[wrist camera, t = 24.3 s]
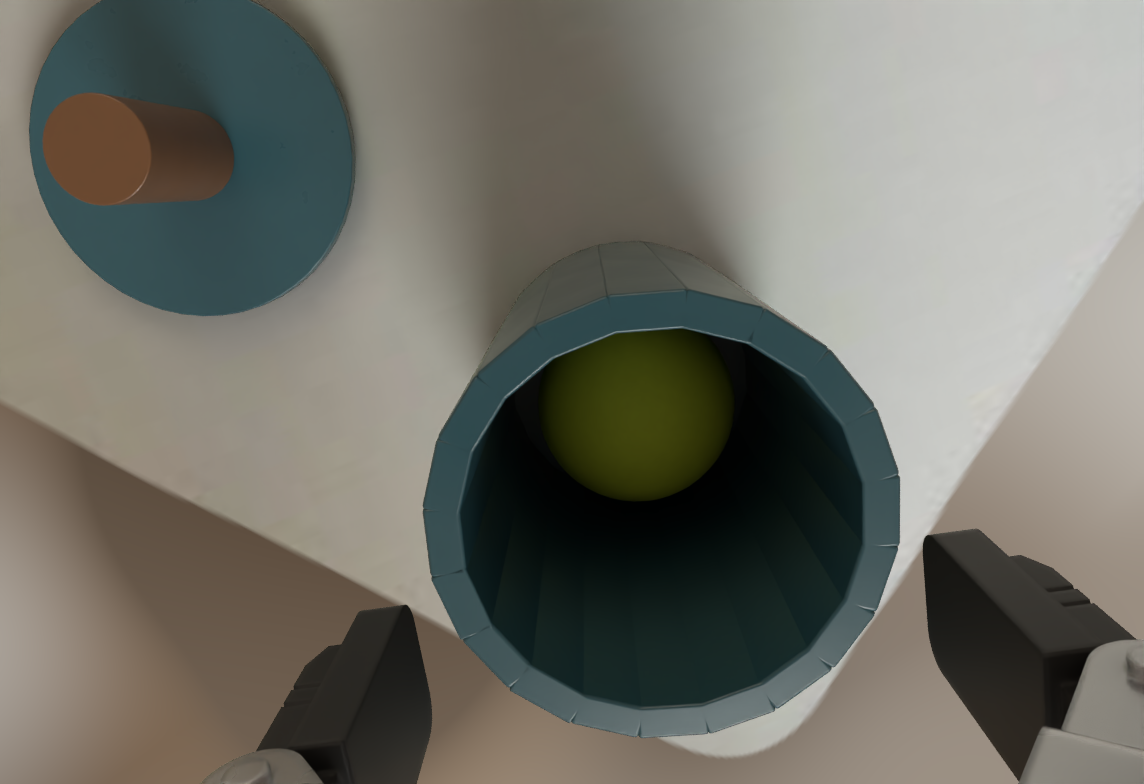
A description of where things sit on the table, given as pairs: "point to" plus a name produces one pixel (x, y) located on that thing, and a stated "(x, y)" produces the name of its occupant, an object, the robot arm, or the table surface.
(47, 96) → the tube lid
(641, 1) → the table surface
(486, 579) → the tube
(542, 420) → the tennis ball
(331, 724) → the robot arm
